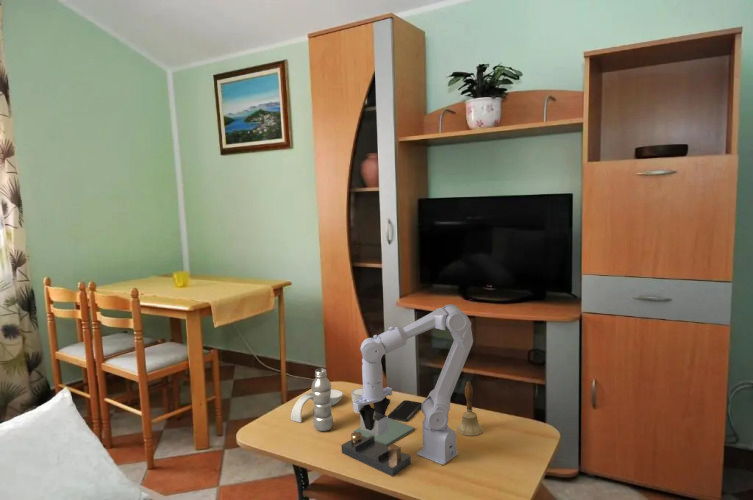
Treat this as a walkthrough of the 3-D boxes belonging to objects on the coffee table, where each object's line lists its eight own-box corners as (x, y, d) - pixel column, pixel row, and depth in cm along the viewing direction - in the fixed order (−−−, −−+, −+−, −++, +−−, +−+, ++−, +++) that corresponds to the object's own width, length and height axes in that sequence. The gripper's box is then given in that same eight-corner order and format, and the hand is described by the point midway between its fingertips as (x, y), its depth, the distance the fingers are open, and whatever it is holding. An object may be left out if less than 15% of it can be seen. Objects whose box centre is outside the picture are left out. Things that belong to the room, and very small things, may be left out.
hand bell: (456, 435, 157) (455, 386, 155) (458, 423, 165) (457, 376, 163) (482, 437, 155) (482, 387, 153) (483, 425, 163) (483, 378, 161)
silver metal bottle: (324, 435, 160) (321, 375, 157) (309, 430, 164) (306, 371, 161) (337, 427, 165) (335, 369, 162) (322, 422, 169) (320, 365, 167)
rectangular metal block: (387, 430, 143) (387, 415, 142) (378, 436, 140) (377, 420, 139) (370, 424, 147) (369, 409, 147) (360, 429, 144) (360, 414, 144)
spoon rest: (324, 395, 193) (323, 377, 192) (349, 400, 187) (348, 382, 186) (283, 419, 173) (281, 399, 172) (309, 426, 167) (308, 406, 166)
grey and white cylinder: (348, 412, 176) (347, 393, 175) (357, 405, 182) (357, 386, 181) (365, 416, 173) (364, 396, 172) (374, 408, 179) (373, 389, 178)
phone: (424, 403, 180) (407, 420, 167) (424, 406, 180) (407, 423, 167) (404, 399, 183) (386, 416, 170) (404, 402, 184) (386, 419, 170)
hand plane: (411, 464, 141) (410, 444, 140) (392, 476, 135) (392, 455, 134) (360, 442, 154) (359, 424, 153) (341, 453, 148) (340, 433, 148)
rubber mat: (414, 429, 161) (414, 427, 161) (386, 446, 151) (386, 444, 151) (382, 418, 171) (382, 415, 170) (353, 433, 160) (353, 430, 160)
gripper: (379, 370, 150) (380, 413, 151) (344, 385, 139) (346, 431, 141) (397, 375, 145) (398, 420, 147) (362, 391, 135) (364, 438, 136)
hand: (374, 426), depth 143 cm, fingers closed on rectangular metal block, 4 cm apart
